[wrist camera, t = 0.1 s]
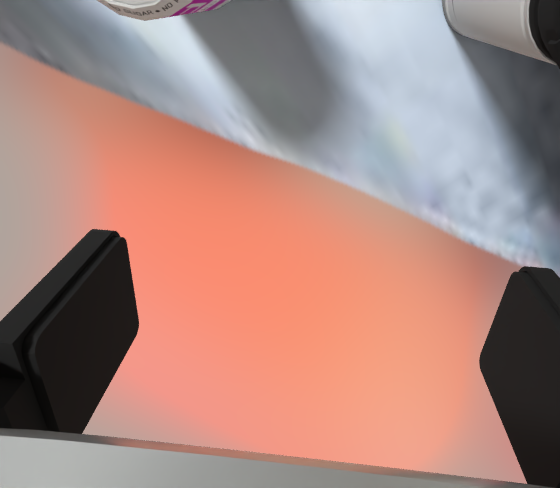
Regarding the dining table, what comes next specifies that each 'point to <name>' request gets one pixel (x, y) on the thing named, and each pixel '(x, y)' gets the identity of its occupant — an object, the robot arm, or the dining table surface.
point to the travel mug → (510, 25)
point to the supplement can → (160, 7)
